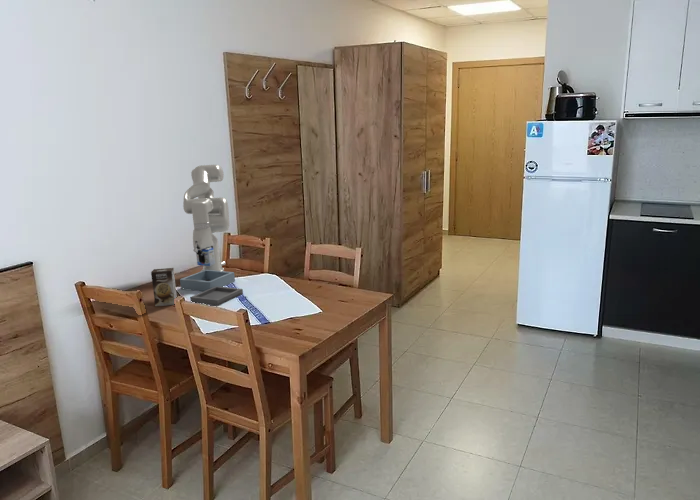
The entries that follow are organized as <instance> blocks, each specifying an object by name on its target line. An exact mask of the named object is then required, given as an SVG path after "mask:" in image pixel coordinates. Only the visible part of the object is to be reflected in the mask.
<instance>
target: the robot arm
mask: <svg viewBox="0 0 700 500" xmlns="http://www.w3.org/2000/svg"><path fill="white" fill-rule="evenodd" d="M190 173H191V180H192V184H193V185H191V186H190V187H189V188H188V189H187V190H186V191H185V193H184V195H183V205H182V207H183V210H184V212H185V213H186V214H188V215H192V221H193V228H194V229H193V231H192V243H193V244H192V245H193V252H194V253H195V254H196V253H197V254H198V255H199V262H200V263H205V257H204V255H203V250H204V249H205V248H208V247H210V248H213V249H214V258H215V264H214V265H211V266H203V265H202V269H201V270H200V272H201V271H203V270H215V271H225V269H224V267H223V266H225V265H226V261H224V260H223V261H221V258H220V248H219V241H218V238H217V237H216V235H215V234H213V233H224V232H228V231H229V230H230V214H229V213H230V212H229V204H228V203H229V202H228V201H227V199H226V198H225V197H221V196H219V197H214V196H215V195H214V190H213V189H212V187H211V183H219V182H222V181H223V179H224V176H225V175H224V170H223V168H222V166H220V165H219V164H206V165H205V164H204V165H198V166H196V167H195V168H193V169H192V170H191V172H190ZM200 250H201V252H200Z"/></svg>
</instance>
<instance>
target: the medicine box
mask: <svg viewBox="0 0 700 500" xmlns="http://www.w3.org/2000/svg"><path fill="white" fill-rule="evenodd" d="M200 252H201V250H200ZM195 255H196V264H197V266H202V267H203V266H211V265H214V264H215V258H214V249H213V248H210V247H208V248H205V249H204V250H203V255H204V257H205V263H200V262H199V255H198V254H197V253H196V252H195Z"/></svg>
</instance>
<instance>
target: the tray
mask: <svg viewBox="0 0 700 500" xmlns="http://www.w3.org/2000/svg"><path fill="white" fill-rule="evenodd" d="M242 295H244V291H243V288H238V287H237V288H236V287H228V286H224V287H220V286H215V287H213V288H210V289H208V290H206V291H200V292H199V293H196V294H194V295H192V296H190V298H189V299H190V302H191V301H192V302H198V303H197V304H200V303H204V304H203V305H208V304H209V306H215V307H216V306H217V307H218V306H221V305H223V304H225V303H227V302H229V301H231V300H234V299H235V298H237V297H239V296H242ZM192 302H191V303H192Z"/></svg>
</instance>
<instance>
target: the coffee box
mask: <svg viewBox="0 0 700 500" xmlns="http://www.w3.org/2000/svg"><path fill="white" fill-rule="evenodd" d="M174 269H175V268H174V267H167V268H154V269H153V270H151V271H150V275H151V283H152V290H153V299H154V305H155V306H154V307H163V306H174V299H175V298H176V297H177V288H176V278H175V270H174ZM177 298H178V297H177Z"/></svg>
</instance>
